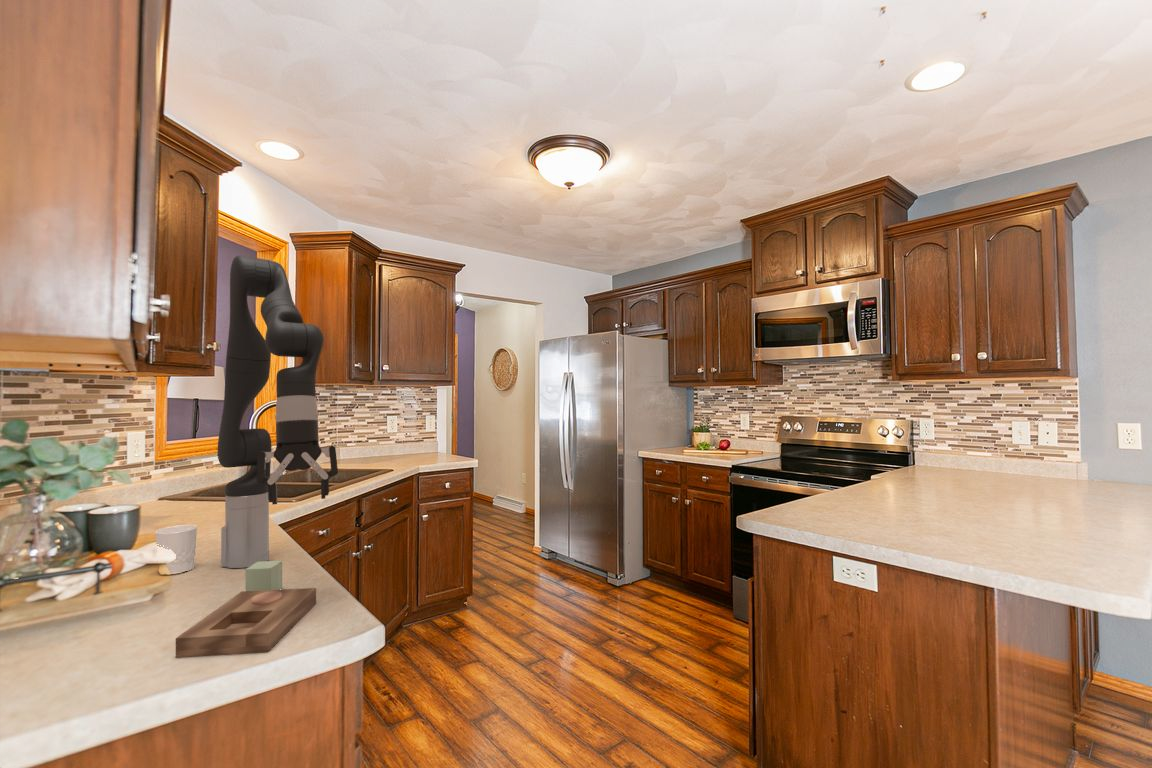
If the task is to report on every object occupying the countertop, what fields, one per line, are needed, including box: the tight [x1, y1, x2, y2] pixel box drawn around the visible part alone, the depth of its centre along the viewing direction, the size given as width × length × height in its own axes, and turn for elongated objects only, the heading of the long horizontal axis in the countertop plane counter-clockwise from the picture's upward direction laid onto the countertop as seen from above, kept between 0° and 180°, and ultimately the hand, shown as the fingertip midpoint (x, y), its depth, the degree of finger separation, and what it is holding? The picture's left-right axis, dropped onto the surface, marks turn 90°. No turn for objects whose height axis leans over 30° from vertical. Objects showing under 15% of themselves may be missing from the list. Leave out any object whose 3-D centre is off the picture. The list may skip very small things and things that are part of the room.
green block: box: [244, 560, 283, 591], centre depth 111 cm, size 5×5×6 cm
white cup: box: [155, 524, 198, 573], centre depth 126 cm, size 8×8×10 cm
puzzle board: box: [175, 587, 317, 658], centre depth 94 cm, size 14×20×4 cm
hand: (299, 501), depth 104 cm, fingers open, 8 cm apart
